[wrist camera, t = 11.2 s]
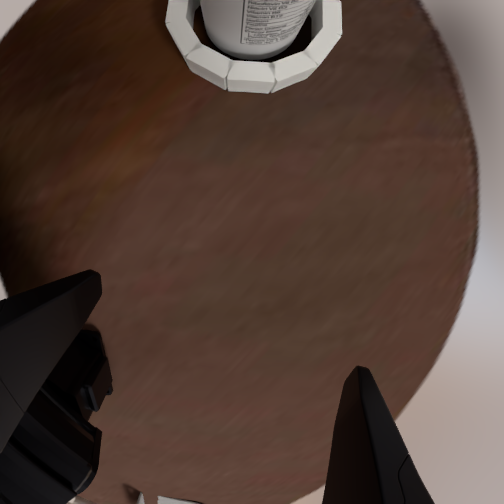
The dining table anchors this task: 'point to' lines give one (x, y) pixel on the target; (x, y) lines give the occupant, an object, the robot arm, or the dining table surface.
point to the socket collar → (248, 72)
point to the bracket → (166, 500)
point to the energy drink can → (254, 25)
